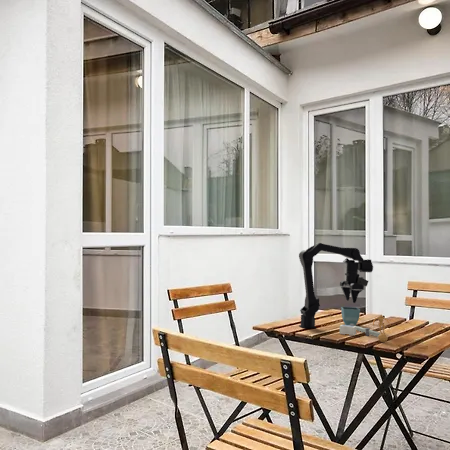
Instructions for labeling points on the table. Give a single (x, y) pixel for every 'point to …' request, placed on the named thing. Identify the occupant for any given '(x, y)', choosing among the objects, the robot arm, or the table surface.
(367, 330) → the rail
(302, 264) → the robot arm
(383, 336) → the figurine
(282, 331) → the table surface
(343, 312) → the flower pot
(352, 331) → the cream rectangular block
